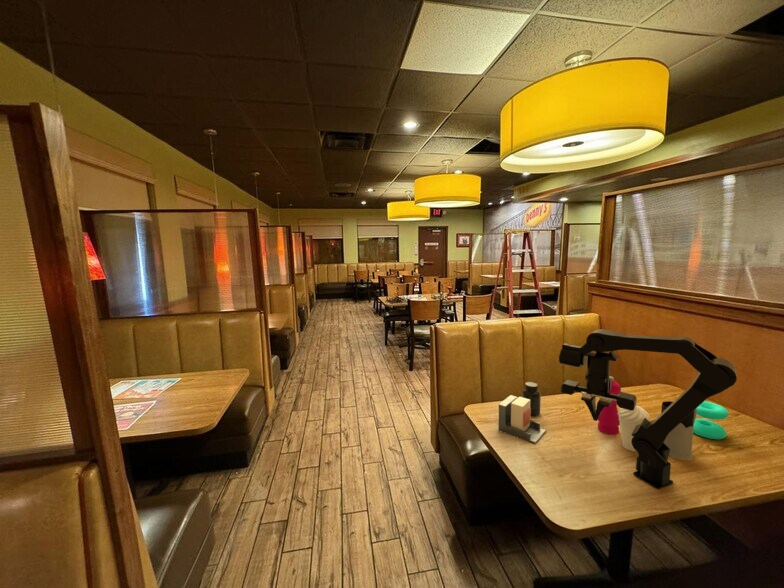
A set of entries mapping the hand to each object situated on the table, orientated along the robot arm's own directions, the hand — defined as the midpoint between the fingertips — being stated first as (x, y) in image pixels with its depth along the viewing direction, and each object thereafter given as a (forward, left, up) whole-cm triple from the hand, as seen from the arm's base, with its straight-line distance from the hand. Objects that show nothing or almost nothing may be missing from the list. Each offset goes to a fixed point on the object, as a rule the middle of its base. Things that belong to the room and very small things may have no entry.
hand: (595, 420), depth 97 cm
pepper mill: (+9, -18, -12) cm, 24 cm away
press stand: (+20, +11, -12) cm, 25 cm away
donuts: (-4, -47, -12) cm, 49 cm away
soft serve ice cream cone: (-1, -15, -12) cm, 19 cm away
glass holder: (-7, -28, -12) cm, 31 cm away
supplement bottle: (+29, -2, -12) cm, 32 cm away
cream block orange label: (+20, +11, -11) cm, 25 cm away
